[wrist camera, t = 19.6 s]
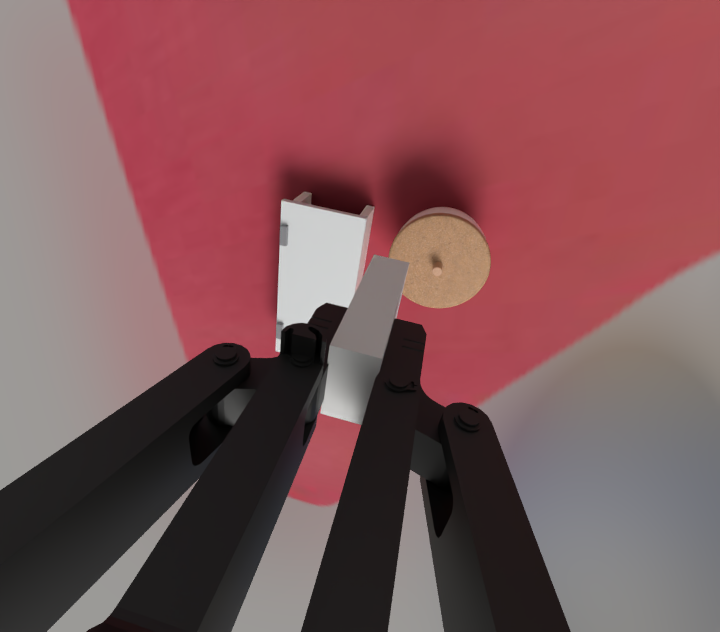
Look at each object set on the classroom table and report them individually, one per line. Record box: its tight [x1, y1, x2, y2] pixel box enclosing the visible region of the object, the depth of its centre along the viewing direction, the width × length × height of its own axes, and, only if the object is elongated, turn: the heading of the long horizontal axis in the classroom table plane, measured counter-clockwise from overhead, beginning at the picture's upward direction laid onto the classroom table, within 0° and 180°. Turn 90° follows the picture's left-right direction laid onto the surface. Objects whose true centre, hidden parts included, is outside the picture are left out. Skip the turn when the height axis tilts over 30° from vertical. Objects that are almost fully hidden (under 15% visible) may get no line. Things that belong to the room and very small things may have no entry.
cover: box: [276, 199, 368, 352], centre depth 51 cm, size 22×10×1 cm, turn 172°
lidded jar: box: [389, 207, 491, 308], centre depth 45 cm, size 11×11×9 cm
